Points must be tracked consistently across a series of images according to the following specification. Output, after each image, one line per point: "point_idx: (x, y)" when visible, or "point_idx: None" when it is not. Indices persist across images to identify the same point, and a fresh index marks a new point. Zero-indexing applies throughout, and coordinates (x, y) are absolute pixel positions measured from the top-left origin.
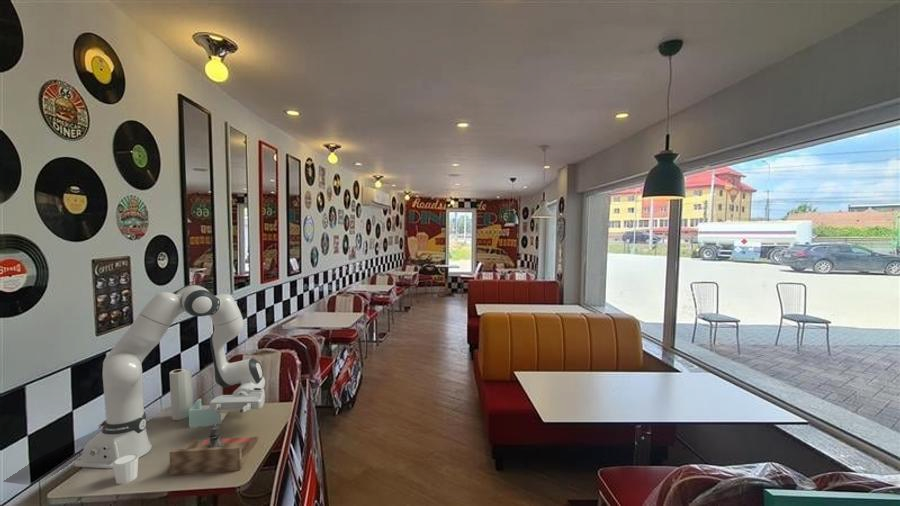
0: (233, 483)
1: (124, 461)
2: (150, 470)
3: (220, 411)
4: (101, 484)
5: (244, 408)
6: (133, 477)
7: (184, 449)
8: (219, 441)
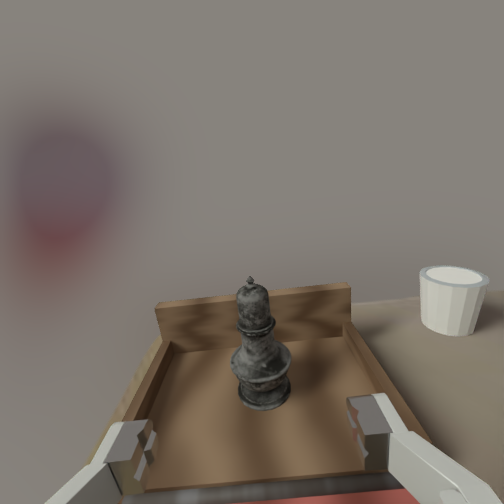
0: None
1: (441, 272)
2: (428, 347)
3: (360, 456)
4: (480, 309)
5: (108, 441)
6: (422, 316)
7: (312, 290)
8: (242, 349)
